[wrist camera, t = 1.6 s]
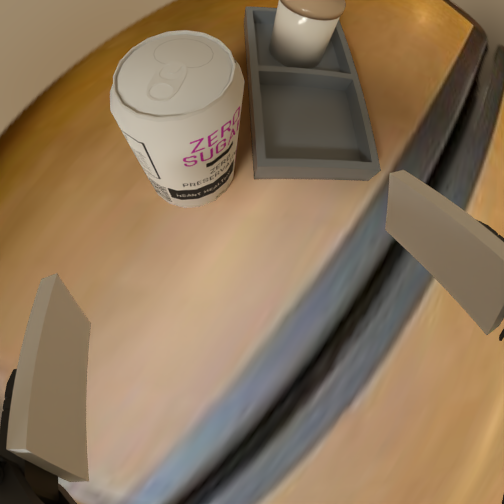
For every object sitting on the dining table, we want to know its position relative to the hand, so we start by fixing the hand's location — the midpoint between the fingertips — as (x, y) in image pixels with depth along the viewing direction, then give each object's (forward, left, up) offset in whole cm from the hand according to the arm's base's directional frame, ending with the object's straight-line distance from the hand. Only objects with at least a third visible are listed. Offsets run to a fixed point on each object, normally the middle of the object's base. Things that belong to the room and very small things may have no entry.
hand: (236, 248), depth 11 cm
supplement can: (-3, +11, -18) cm, 21 cm away
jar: (+9, +27, -17) cm, 33 cm away
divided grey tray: (+9, +21, -17) cm, 29 cm away
